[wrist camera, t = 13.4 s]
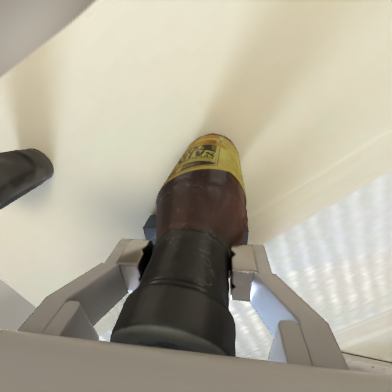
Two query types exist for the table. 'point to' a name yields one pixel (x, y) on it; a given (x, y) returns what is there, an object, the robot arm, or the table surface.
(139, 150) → the table surface
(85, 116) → the table surface
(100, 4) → the table surface
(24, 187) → the beverage cup
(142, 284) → the sauce bottle
